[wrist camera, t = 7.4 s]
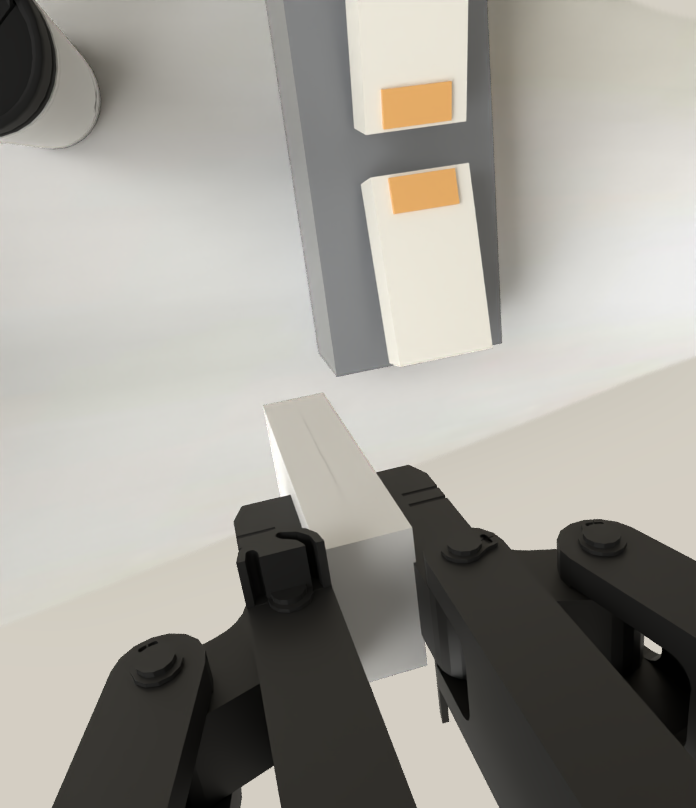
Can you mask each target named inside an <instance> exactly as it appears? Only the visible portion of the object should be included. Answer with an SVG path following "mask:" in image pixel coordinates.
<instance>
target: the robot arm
mask: <svg viewBox="0 0 696 808" xmlns="http://www.w3.org/2000/svg"><path fill="white" fill-rule="evenodd" d="M263 409H264V415H265V420H266V425H267V430H268V435H269V441H270V446H271V451H272V456H273V461H274V467H275V472H276V477H277V482H278V487H279V493H280V497H279V498H274V499H270V500H266V501H262V502H258V503H253V504H249V505H245V506H242V507H241V509H240V511H239V512H238V514H237V516H236V518H235V520H234V526H235V532H236V538H237V544H238V550H239V552H238V557H237V562H236V564H237V568H238V572H239V577H240V581H241V585H242V590H243V594H244V598H245V602H246V607H245V609H244V612H243V614H242V615H241V617H240V618H239V619H238V621H237V622H236V623H235V624H234V625H233V626H232V627H231V628H230V629H228V630H227V631H226V632H224V633H222V634H221V635H219V636H218V637H216V638H214V639H212V640H211V641H208V642H207V643H205V644H203V645H202V644H201V643H200V641H199V640H198V639H196V638H194V637H191V636H189V635H186V634H166V635H161V636H157V637H153V638H150V639H148V640H146V641H144V642H142V643H140V644H138V645H136V646H135V647H133V648H132V649H131V650H129V651H128V652H127V653H126V654H125V655H124V656H122V657H121V658H120V659H119V660H118V662H117V663H116V665H115V666H114V668H113V669H112V671H111V672H110V675H109V677H108V679H107V682H106V684H105V686H104V688H103V691H102V693H101V696H100V698H99V700H98V702H97V705H96V707H95V709H94V712H93V714H92V716H91V719H90V721H89V723H88V726H87V728H86V730H85V732H84V735H83V737H82V739H81V742H80V744H79V746H78V749H77V751H76V753H75V755H74V758H73V760H72V762H71V765H70V767H69V769H68V772H67V774H66V776H65V779H64V781H63V783H62V785H61V788H60V790H59V792H58V795H57V797H56V799H55V802H54V804H53V806H52V808H240V806H241V800H242V795H241V794H242V793H241V787H242V786H243V785H245V784H246V783H248V782H249V781H251V780H252V779H254V778H256V777H257V776H259V775H260V774H262V773H263V772H265V771H266V770H268V769H269V768H271V767H272V766H274V769H275V774H276V780H277V786H278V792H279V797H280V803H281V808H417V807H416V804H415V802H414V799H413V796H412V794H411V791H410V788H409V786H408V783H407V781H406V778H405V775H404V773H403V770H402V768H401V765H400V762H399V760H398V757H397V755H396V752H395V750H394V747H393V744H392V742H391V739H390V737H389V734H388V731H387V728H386V726H385V723H384V721H383V718H382V715H381V713H380V710H379V708H378V705H377V703H376V700H375V697H374V695H373V692H372V689H371V687H370V684H369V682H372V681H376V680H379V679H382V678H386V677H389V676H393V675H396V674H399V673H403V672H406V671H409V670H412V669H416V668H419V667H423V666H426V665H427V658H426V649H425V642H426V644H427V646H428V648H429V649H430V651H431V653H432V655H433V657H434V659H435V667H436V677H437V687H438V697H439V706H440V713H441V718H442V723H446V722H449V716H448V707H449V709H450V711H451V713H452V714H453V717H454V719H455V721H456V722H457V725H458V727H459V728H460V730H461V732H462V734H463V736H464V738H465V740H466V742H467V744H468V746H469V748H470V750H471V752H472V754H473V756H474V758H475V760H476V762H477V764H478V766H479V768H480V770H481V772H482V774H483V776H484V778H485V780H486V782H487V784H488V786H489V788H490V790H491V792H492V794H493V796H494V798H495V800H496V802H497V804H498V806H499V808H696V561H695V560H693V559H691V558H689V557H687V556H685V555H684V554H682V553H680V552H678V551H676V550H674V549H672V548H670V547H668V546H666V545H664V544H662V543H661V542H659V541H657V540H655V539H653V538H651V537H649V536H647V535H645V534H643V533H641V532H640V531H638V530H636V529H634V528H632V527H629V526H627V525H624V524H621V523H619V522H615V521H608V520H602V519H594V520H583V521H579V522H576V523H572V524H570V525H568V526H567V527H565V528H564V529H563V530H561V531H560V534H559V536H558V538H557V549H551V550H531V551H526V550H525V551H524V550H523V551H522V550H511V549H510V548H509V547H508V545H507V544H506V543H505V542H504V541H503V540H502V539H501V538H499V537H498V536H497V535H495V534H494V533H492V532H489V531H486V530H483V529H480V528H471V527H470V525H469V524H468V523H467V522H466V520H464V518H463V517H462V516H461V514H460V513H459V512H458V511H457V510H456V508H455V507H454V506H453V505H452V503H451V502H450V501H449V500H448V499H447V498H445V495H444V494H443V492H442V491H441V490H440V489H439V488H437V485H436V484H435V483H434V481H433V480H432V479H431V478H430V477H429V475H428V474H427V473H425V472H423V471H421V470H419V469H417V468H414V467H412V466H410V465H406V466H402V467H397V468H393V469H389V470H385V471H380V472H375V470H374V469H373V467H372V466H371V464H370V463H369V461H368V460H367V458H366V457H365V455H364V454H363V452H362V451H361V449H360V448H359V446H358V445H357V443H356V442H355V440H354V439H353V437H352V436H351V434H350V433H349V431H348V430H347V428H346V426H345V425H344V423H343V422H342V420H341V419H340V417H339V416H338V414H337V413H336V411H335V410H334V408H333V407H332V405H331V404H330V402H329V401H328V399H327V398H326V396H325V395H324V393H319V394H314V395H309V396H305V397H300V398H295V399H291V400H286V401H281V402H276V403H272V404H267V405H263ZM644 636H646V637H648V638H649V639H650V640H652V641H653V642H655V643H656V644H658V645H659V646H661V647H662V654H657V653H655V652H653V651H651V650H650V649H649V648H647V647H646V646H644Z"/></svg>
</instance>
